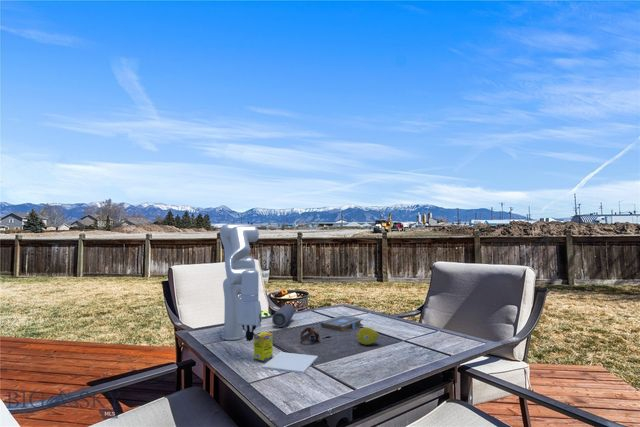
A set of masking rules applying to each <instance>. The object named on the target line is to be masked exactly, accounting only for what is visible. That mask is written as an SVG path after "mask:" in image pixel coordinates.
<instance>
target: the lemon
mask: <svg viewBox="0 0 640 427" xmlns="http://www.w3.org/2000/svg"><path fill="white" fill-rule="evenodd" d="M379 335H380V334H379V333H378V332H377V331H376V330H374V329H373V328H370V327H362V328H360V329H359V330H358V333H356V337H357V340H358V342H359V343H360V344H362V345H364V346H369V345H372V344H374V343H375V342H376V341H377V340H378V339H379Z"/></svg>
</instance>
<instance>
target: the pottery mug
mask: <svg viewBox="0 0 640 427" xmlns="http://www.w3.org/2000/svg"><path fill="white" fill-rule="evenodd" d="M307 332H308V333H307ZM299 337H300V341H301V343H303V342H305V341H308V340H311V339H312V338H313V339H314V338H315V340H316V341H318V344H320V343H321V336H320V333H319V332H318V331H317V329H315V327H313V326H307V327H305V328H304V329H303V330H302V331H301V332H300V334H299Z"/></svg>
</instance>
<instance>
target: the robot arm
mask: <svg viewBox="0 0 640 427" xmlns="http://www.w3.org/2000/svg"><path fill="white" fill-rule="evenodd" d="M219 230H220V232H219V235H220V240H221V243H222V246H223V249H224V268H225V274H226V275H225V276H226V278H225V279H224V280H223V281H222V288H223V289H222V290H223V296H224V297H223V298H224V317H223V318H224V322H223V323H224V324H223V327H219V328H218V332H217V333H222V334H221V336H220V338H221V339H222V340H224V339H225V340H224V341H237V340H243V339H244V338H245V340H246V341H248V342H251V341H252V340H253V341H254V334H255V332H254V331H255V330H256V329H258V328H261V327H262V319H263V318H262V315H263V314H262V306H261V301H260V300H259V295H260V294H259V291H260V290H259V288H260V287H259V286H260V285H259V284H260V283H259V282H260V280H259V277H260V275H259V273H260V272H258V271H259V270H257V269H256V262H255V259H254V258H253V257H252V256H249V255H250V253H251V247H250V243H255V242H257V241H258V240H259V238H260V237H259V235H260V233H259V230H258V227H257V226H255V225H253V224H250V223H226V224H223V225H222V226H221V227H220V229H219ZM246 341H245V342H246Z"/></svg>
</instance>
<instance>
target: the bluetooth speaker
mask: <svg viewBox="0 0 640 427" xmlns="http://www.w3.org/2000/svg"><path fill="white" fill-rule="evenodd" d="M294 314H295V309H294V307H293V305H291V304H284V305H283V306H281V307H280V308H279V309H277V311H276V312H275V313H274V314H273V316H272V318H271V321H272V324H273V325H274V327H276V328H283V327H285V326H286V325H287V324H288V323H289V322H290V321H291V320H292V318H293V317H294Z"/></svg>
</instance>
